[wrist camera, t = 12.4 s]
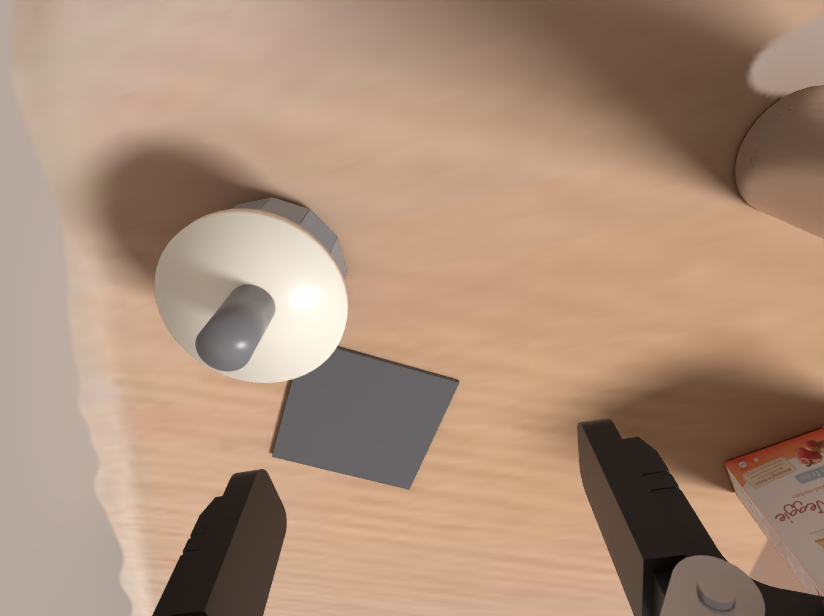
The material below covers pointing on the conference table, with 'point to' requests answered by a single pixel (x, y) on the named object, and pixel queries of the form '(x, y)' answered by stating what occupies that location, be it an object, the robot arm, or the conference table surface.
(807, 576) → the cracker box
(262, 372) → the lid
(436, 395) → the mat
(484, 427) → the conference table surface
